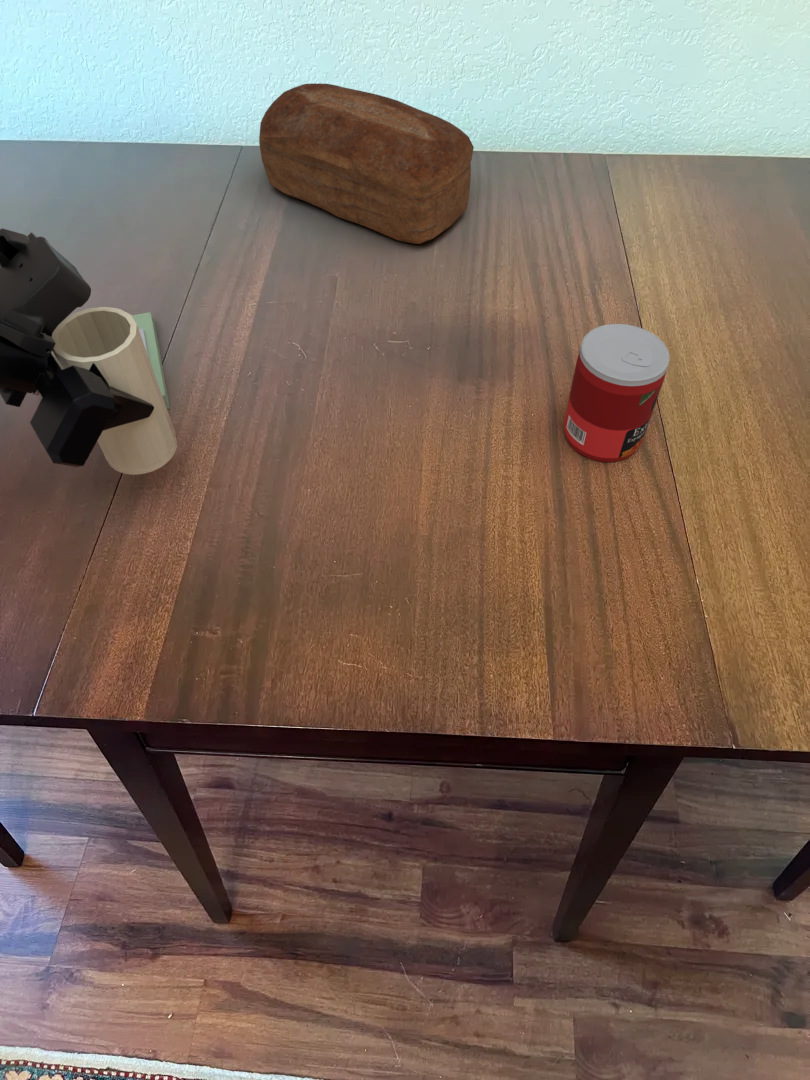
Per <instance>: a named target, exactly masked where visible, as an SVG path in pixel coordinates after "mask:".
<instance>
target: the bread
mask: <svg viewBox="0 0 810 1080" xmlns="http://www.w3.org/2000/svg"><path fill="white" fill-rule="evenodd" d="M258 135H259V136H258V144H259V151H260V158H261V162H262V165H263V168H264V171H265V174H266V177H267V179H268V183H269V185H271V186H272V187H274V188H276V189H277V190H279V191H280V192H281V193H283V194H285V195H286V196H288V197H292V198H294V199H297V200H300V201H304V202H306V203H308V204H311V205H313V206H316V207H317V208H320V209H322V210H323V211H326V212H328V213H330V214H332V215H334V216H336V217H338V218H340V219H343V220H346V221H348V222H352V223H355V224H358V225H361V226H363V227H366V228H368V229H371V230H373V231H375V232H377V233H380V234H383V235H385V236H387V237H389V238H392V239H393V240H396V241H399V242H403V243H410V244H415V245H416V244H417V245H420V244H421V245H422V244H423V243H427V242H428V241H431V240H433V239H434V238H436V237H437V236H439V235H441V233H442V232H444V231H445V230H447V229H448V228H450V227H451V226H452V225H453V224H454V223H455V222H456V221H457V220H458V219H459V218H460V216H462V214H463V213H465V211H466V210H467V208H468V205H469V204H468V203H469V199H470V194H471V193H470V192H471V181H472V180H471V177H472V160H473V155H474V154H473V153H474V149H475V147H474V144H473V143H472V141H471V139H470V137H469V135H468V134H466V133H465V132H464V131H463V130H462V129H460V128H459V127H457V126H456V125H454V124H453V123H451V122H450V121H447V120H446V119H444V118H442V117H439V116H436V115H434V114H432V113H429V112H426V111H424V110H422V109H419V108H416V107H415V106H411V105H409V104H407V103H405V102H402V101H400V100H397V99H393V98H391V97H388V96H384V95H381V94H376V93H373V92H368V91H363V90H360V89H355V88H354V89H353V88H349V87H346V86H345V87H344V86H340V85H336V84H330V83H321V82H320V83H304V84H301V85H297V86H295V87H291V88H290V89H287V90H284V91H283V92H282V93H281V94H280V95H279V96H278V97H277V98H276V99H275V100H273V101H272V103H271V104H270V106H269V107H268V108H267V109H266V111H265V112H264V114H263V117H262V119H261V121H260V126H259V134H258Z"/></svg>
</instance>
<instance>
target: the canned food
mask: <svg viewBox="0 0 810 1080" xmlns="http://www.w3.org/2000/svg"><path fill="white" fill-rule="evenodd" d="M669 364H670V352H669V350H668V347H667V346H666V344H665V342H664V341H663V340H661V338H660V337H658V336H657V335H655V334H654V333H653V332H651V331H649V330H647V329H644V328H642V327H639V326H636V325H632V324H627V323H608V324H603V325H600V326H597V327H595V328H593V329H591V330H589V331H588V332H587V333H586V334H585V336H584V337H583V338H582V341H581V344H580V346H579V350H578V355H577V358H576V361H575V368H574V373H573V377H572V382H571V386H570V391H569V396H568V400H567V406H566V410H565V415H564V420H563V430H564V435H565V439H566V441H567V443H568V444H569V445H570V447H571V448H572V449H573V450H574V451H575V452H577V453H578V454H580V455H581V456H583V457H585V458H587V459H590V460H592V461H596V462H602V463H604V462H605V463H615V462H620V461H623V460H625V459H628V458H629V457H631V456H633V454H635V452H636V451H638V449H640V446H642V443H643V441H644V438H645V435H646V433H647V429H648V427H649V424H650V421H651V418H652V416H653V413H654V410H655V407H656V405H657V401H658V398H659V395H660V392H661V390H662V387H663V384H664V382H665V379H666V375H667V372H668V368H669Z"/></svg>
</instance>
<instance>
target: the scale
mask: <svg viewBox="0 0 810 1080" xmlns="http://www.w3.org/2000/svg"><path fill="white" fill-rule="evenodd" d="M131 316H132V317H133V319H134V320H135V322H136V324H137V326H138V329H139V332H140V335H141V338H142V340H143V343H144V346H145V349H146V352H147V354H148V357H149V360H150V363H151V366H152V368H153V371H154V374H155V377H156V380H157V383H158V385H159V388H160V391H161V394H162V397H163V399H164V402H165V405H166V408H167V410H170V409H171V406H170V400H169V394H168V389H167V383H166V378H165V372H164V366H163V360H162V356H161V355H162V354H161V349H160V344H159V339H158V332H157V326H156V323H155V320H154V317H153V315H152V312H151V311H148V312H142V313H138V314H131Z"/></svg>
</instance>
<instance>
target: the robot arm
mask: <svg viewBox="0 0 810 1080" xmlns="http://www.w3.org/2000/svg"><path fill="white" fill-rule="evenodd" d="M91 295H92V287H91V286H90V284H89V283H88V282H87V281H86V280H85V279H84V277H83V276H82V274H80V272H79V271H78V269H77V268H76V266H75V265H74V264H73V263H71V262H70V261H69V260H68V259H67V258H66V257H65V256H63V254H61V253H60V252H59V251H58V250H57V249H56V248H55V247H53V245H51V244H50V242H49V241H48V240H47V239H46V238H45V236H37V235H36V234H34V233H33V232H30V233H29V234H28V235H26V234H24V233H21V232H17V231H14V230H10V229H6V228H3V227H2V228H0V397H1V398H2V400H3V401H4V403H5V405H8V406H13V407H17V408H20V407H21V406H22V403H23V402H24V399H25V397H26V396H27V394H32V395H33V396H39V395H40V396H41V399H40V401H39V404H38V406H37V408H36V410H35V411H34V414H33V416H32V417H31V420H30V422H29V424H30V425H31V427H32V429H33V431H34V433H35V435H36V437H37V438H38V440H39V441H40V444H42V446H43V448H44V450H45V452H46V453H47V455H48V457H49V458H50V460H51V462H52V463H53V464H54V465H55V464H56V465H62V466H68V467H73V468H80V467H84V466H85V464H86V462H87V460H88V459H89V457H90V455H91V453H92V452H93V450H94V448H95V447H96V444H97V443H98V442H97V440H98V439H99V437H100V435H101V433H102V431H104V430H107V429H110V428H114V427H117V426H121V425H124V424H128V423H131V422H135V421H138V420H141V419H145V418H148V417H150V415H151V414H152V412H153V410H154V406H153V405H152V404H151V403H148V402H146V401H144V400H142V399H140V398H138V397H136V396H133V395H131V394H128V393H126V392H123V391H121V390H119V389H116V388H114V387H111V386H109V384H108V382H107V380H106V379H105V378H104V376H103V375H102V373H101V372H100V370H99V369H98V367H97V366H96V365H95V363H93V364H92V366H91V367H90V369H89V370H87V369H84V368H81V367H77V366H74V365H73V366H70V367H68V368H66V369H64V367H63V366H62V364H61V363H60V361H59V360H58V358H57V356H56V354H55V352H54V350H53V348H54V346H55V344H56V343H55V341H54V340H53V338H52V333H53V331H54V330H55V329H56V327H57V326H58V325H59V324H60V323H61V322H62V321H63V320H65V319H66V318H68V317H69V316H71V315H72V314H73V312H74V311H75V310H76V309H78V308H82V307H83V306H84V305H85V304H86V303H87V302H88V301H89V299H90V297H91Z"/></svg>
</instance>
